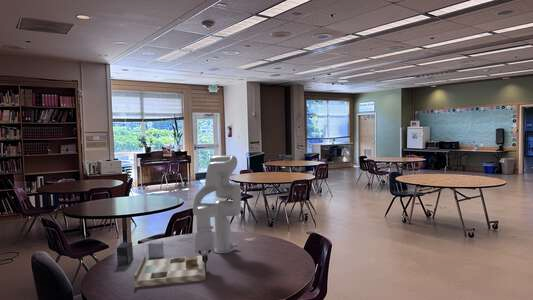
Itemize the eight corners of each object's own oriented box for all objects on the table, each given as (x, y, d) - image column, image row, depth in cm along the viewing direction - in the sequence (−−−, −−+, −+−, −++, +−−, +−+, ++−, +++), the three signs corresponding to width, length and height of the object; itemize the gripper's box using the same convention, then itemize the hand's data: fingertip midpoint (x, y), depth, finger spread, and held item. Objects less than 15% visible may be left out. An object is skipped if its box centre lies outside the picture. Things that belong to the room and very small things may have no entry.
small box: (122, 259, 219) (121, 242, 219) (133, 258, 220) (132, 241, 219) (116, 265, 209) (115, 247, 208) (128, 264, 209) (127, 246, 209)
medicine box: (163, 255, 224) (163, 241, 224) (161, 257, 220) (160, 243, 219) (151, 255, 225) (150, 241, 225) (148, 257, 221) (147, 243, 220)
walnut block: (197, 262, 200) (197, 255, 200) (197, 266, 194) (196, 259, 194) (186, 263, 199) (185, 256, 199) (185, 267, 193) (185, 260, 193)
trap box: (204, 260, 213) (204, 250, 213) (205, 280, 183) (204, 268, 183) (144, 265, 207) (143, 255, 206) (134, 287, 177) (134, 275, 177)
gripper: (217, 226, 202) (218, 258, 203) (189, 228, 199) (191, 261, 200) (218, 229, 195) (219, 263, 196) (189, 231, 192) (190, 266, 193)
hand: (205, 262), depth 198 cm, fingers closed
